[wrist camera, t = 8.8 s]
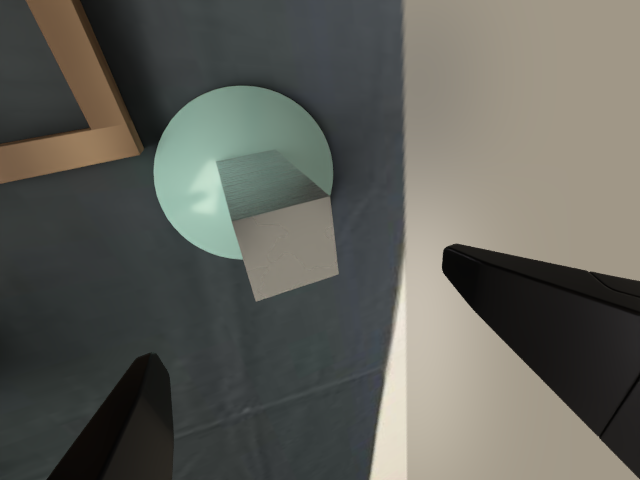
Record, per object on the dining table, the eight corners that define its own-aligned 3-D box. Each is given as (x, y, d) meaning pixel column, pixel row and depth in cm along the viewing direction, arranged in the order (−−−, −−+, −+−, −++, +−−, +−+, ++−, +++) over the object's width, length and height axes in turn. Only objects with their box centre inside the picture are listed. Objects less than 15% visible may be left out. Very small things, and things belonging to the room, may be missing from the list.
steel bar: (275, 149, 18) (329, 196, 11) (285, 202, 20) (338, 274, 13) (215, 161, 18) (231, 221, 10) (232, 216, 19) (256, 301, 12)
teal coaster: (318, 71, 18) (321, 70, 17) (337, 230, 23) (340, 233, 23) (118, 104, 15) (115, 105, 15) (193, 274, 21) (193, 279, 20)
